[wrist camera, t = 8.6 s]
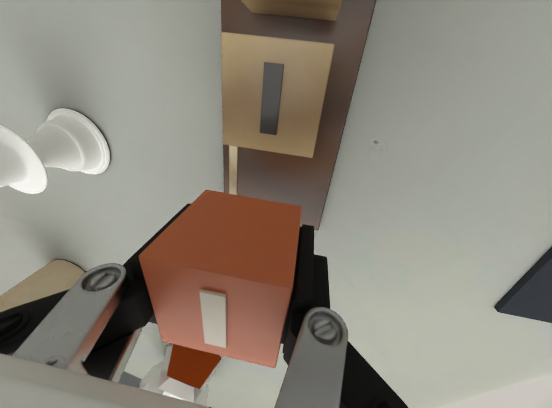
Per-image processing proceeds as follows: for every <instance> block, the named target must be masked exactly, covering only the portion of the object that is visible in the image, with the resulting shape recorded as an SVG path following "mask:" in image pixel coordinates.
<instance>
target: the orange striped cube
mask: <svg viewBox="0 0 552 408" xmlns="http://www.w3.org/2000/svg"><path fill="white" fill-rule="evenodd" d="M301 212H302V207H301V206H297V205H291V204H285V203H280V202H274V201H268V200H262V199H257V198H251V197H245V196H239V195H233V194H228V193H222V192H216V191H210V190H205V191H204V192H203V193H202V194H201V195H200V196H199V197H198V198H197V199H196V200H195V201H194V202H193V203H192V204H191V205H190V206H189V207H188V208H187V209H186V210H185V211H184V212H183V213H182V214H181V215H180V216H179V217H178V218H177V219H176V220H175V221H174V222H172V223H171V224H170V225H169V226H168V227H167V228H166V229H165V230H164V231H163V232H162V233H161V234H160V235H159V236H158V237H157V238H156V239H155V240H154V241H153V242H152V243H151V244H150V245H149V246H148V247H147V248H146V249H145V250H144V251H143V252H142V253H141V254H140V255H139V260H140V264H141V267H142V271H143V274H144V278H145V282H146V285H147V289H148V292H149V296H150V299H151V303H152V307H153V310H154V314H155V317H156V321H157V325H158V328H159V332H160V335H161V339H162V341H163V342H167V343H172V344H176V345H180V346H184V347H188V348H192V349H197V350H201V351H205V352H209V353H213V354H217V355H222V356H226V357H230V358H234V359H238V360H242V361H247V362H251V363H255V364H259V365H263V366H267V367H272V368H275V367H276V363H277V359H278V354H279V349H280V345H281V340H282V335H283V331H284V326H285V321H286V317H287V312H288V307H289V303H290V298H291V293H292V289H293V281H294V272H295V264H296V255H297V247H298V238H299V229H300V221H301Z"/></svg>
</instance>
